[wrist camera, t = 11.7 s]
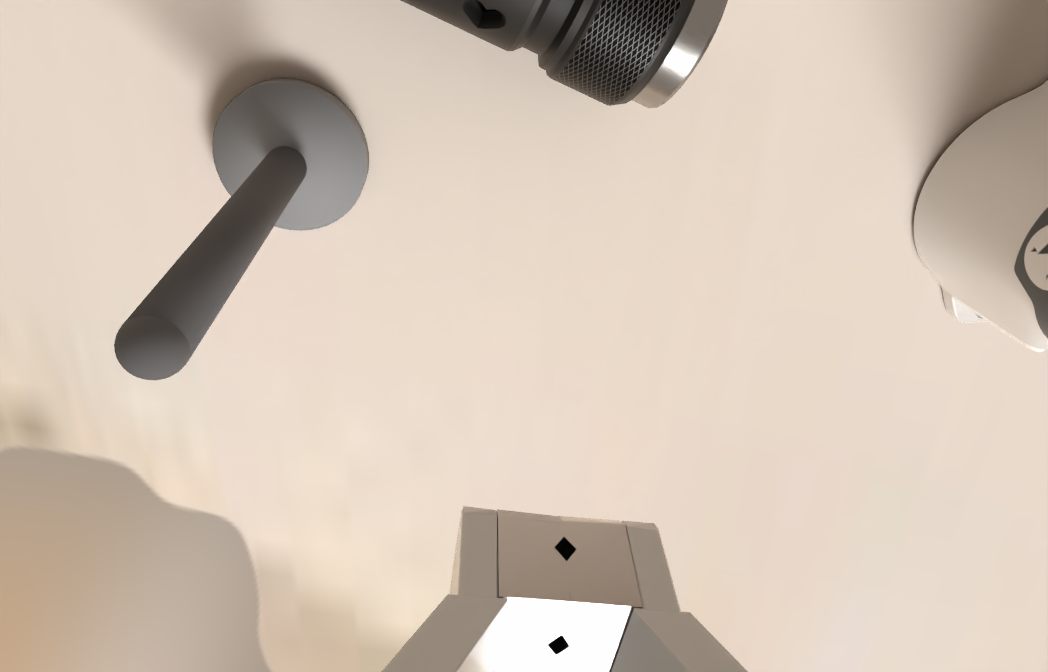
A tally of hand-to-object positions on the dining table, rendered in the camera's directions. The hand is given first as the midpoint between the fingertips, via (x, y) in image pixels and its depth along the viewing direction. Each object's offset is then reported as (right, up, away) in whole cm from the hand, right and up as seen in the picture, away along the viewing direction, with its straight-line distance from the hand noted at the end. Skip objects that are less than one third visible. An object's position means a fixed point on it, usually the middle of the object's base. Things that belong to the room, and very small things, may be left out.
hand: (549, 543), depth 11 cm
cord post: (-15, +15, +33) cm, 39 cm away
